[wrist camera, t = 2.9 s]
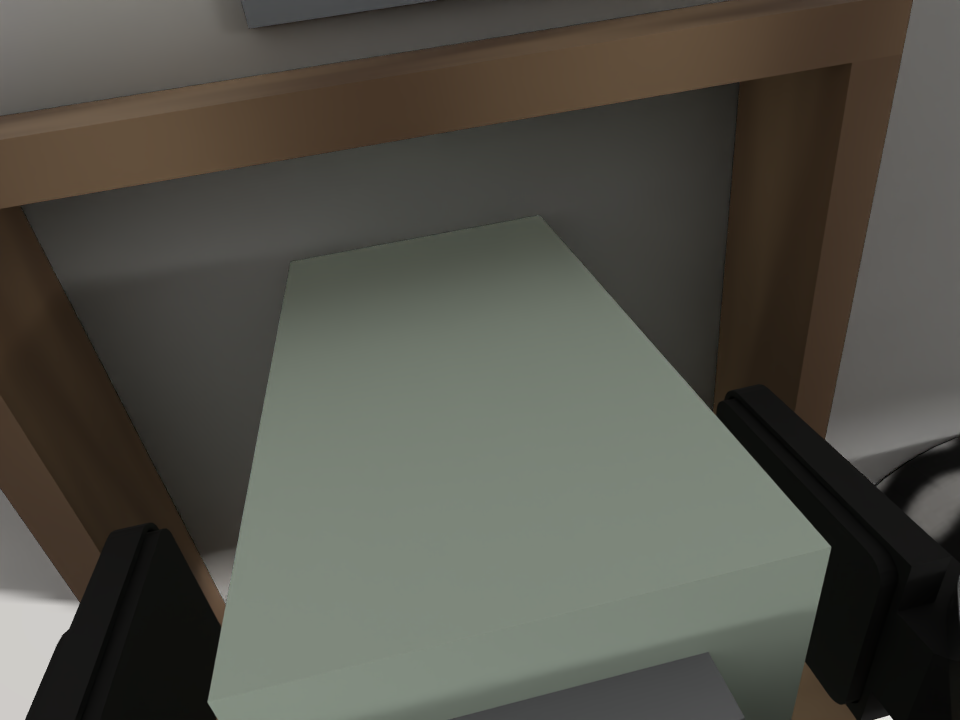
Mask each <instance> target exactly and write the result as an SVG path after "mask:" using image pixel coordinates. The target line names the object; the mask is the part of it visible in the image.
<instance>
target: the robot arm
mask: <svg viewBox="0 0 960 720" xmlns="http://www.w3.org/2000/svg"><path fill="white" fill-rule="evenodd" d="M716 416H717V417H718V419H719V420H720V421H721V422H722V423H723V424H724V425H725V427H726V428H727V429H728V430H729V431H730V432H731V433H732V434H733V436H734V437H735V438H736V439H737V440H738V441H739V442H740V444H741V445H742V446H743V447H744V448H745V449H746V450H747V452H748V453H749V454H750V455H751V456H752V457H753V458H754V459H755V461H756V462H757V463H758V464H759V465H760V466H761V467H762V469H763V470H764V471H765V472H766V473H767V474H768V475H769V477H770V478H771V479H772V480H773V481H774V482H775V483H776V484H777V486H778V487H779V488H780V489H781V490H782V491H783V492H784V494H785V495H786V496H787V497H788V498H789V499H790V500H791V502H792V503H793V504H794V505H795V506H796V507H797V508H798V510H799V511H800V512H801V513H802V514H803V515H804V516H805V517H806V519H807V520H808V521H809V522H810V523H811V524H812V525H813V527H814V528H815V529H816V530H817V531H818V532H819V533H820V535H821V536H822V537H823V538H824V539H825V540H826V541H827V542H828V544H829V545H830V546H831V551H830V555H829V560H828V564H827V568H826V573H825V577H824V581H823V585H822V590H821V594H820V598H819V603H818V607H817V611H816V615H815V620H814V624H813V628H812V633H811V637H810V641H809V645H808V650H807V654H806V658H805V662H806V664H807V665H808V667H809V668H810V669H811V671H812V672H813V674H814V675H815V677H816V678H817V679H818V681H819V682H820V684H821V685H822V686H823V688H824V689H825V691H826V692H827V694H828V695H829V696H830V697H831V699H832V700H834V701H835V702H836V703H837V704H840V705H843V704H846V706H847V707H848V708H849V710H850V711H851V713H852V714H853V715H854V717H855V718H856V720H875V719H878V718H881V717H885V716H888V715H890V716H891V717H892V719H893V720H960V563H959V562H958V561H957V560H956V559H955V558H954V557H953V556H951V555H950V554H949V553H948V552H947V551H946V550H945V549H944V548H943V547H942V546H941V545H939V544H938V543H937V542H936V541H935V540H934V539H933V538H932V537H931V536H930V535H928V534H927V533H926V532H925V531H924V530H923V529H922V528H921V527H920V526H919V525H918V524H916V523H915V522H914V521H913V520H912V519H911V518H910V517H909V516H908V515H907V514H905V513H904V512H903V511H902V510H901V509H900V508H899V507H898V506H897V505H896V504H895V503H893V502H892V501H891V500H890V499H889V498H888V497H887V496H886V495H885V494H884V493H882V492H881V491H880V490H879V489H878V488H877V487H876V486H875V485H874V484H873V483H872V482H870V481H869V480H868V479H867V478H866V477H865V476H864V475H863V474H862V473H861V472H859V471H858V470H857V469H856V468H855V467H854V466H853V465H852V464H851V463H850V462H849V461H847V460H846V459H845V458H844V457H843V456H842V455H841V454H840V453H839V452H837V451H836V450H835V449H834V448H833V447H832V446H831V445H830V444H829V443H828V442H827V441H825V440H824V439H823V438H822V437H821V436H820V435H819V434H818V433H817V432H816V431H814V430H813V429H812V428H811V427H810V426H809V425H808V424H807V423H806V422H805V421H804V420H802V419H801V418H800V417H799V416H798V415H797V414H796V413H795V412H794V411H793V410H791V409H790V408H789V407H788V406H787V405H786V404H785V403H784V402H783V401H782V400H781V399H779V398H778V397H777V396H776V395H775V394H774V393H773V392H772V391H771V390H770V389H769V388H767V387H766V386H764V385H762V384H757V385H753V386H748V387H744V388H739V389H735V390H731V391H729V392H727V394H726V395H725V399H724V401H721V402H719V403H718V405H717V410H716ZM221 628H222V627H221V625H220V623H219V621H218V620H217V618H216V616H215V614H214V612H213V610H212V608H211V606H210V605H209V603H208V601H207V599H206V597H205V595H204V593H203V591H202V590H201V588H200V586H199V584H198V582H197V580H196V578H195V576H194V574H193V573H192V571H191V569H190V567H189V565H188V563H187V561H186V559H185V558H184V556H183V554H182V552H181V550H180V548H179V546H178V544H177V543H176V541H175V539H174V537H173V535H172V533H171V532H170V531H169V530H168V529H167V528H164V529H159V528H158V527H157V525H155V524H154V523H144V524H140V525H136V526H131V527H127V528H122V529H118V530H114V531H113V532H111V533H110V534H109V536H108V538H107V540H106V542H105V545H104V547H103V549H102V552H101V554H100V557H99V559H98V561H97V564H96V566H95V569H94V571H93V573H92V576H91V578H90V581H89V583H88V585H87V588H86V590H85V593H84V595H83V597H82V600H81V602H80V604H79V607H78V609H77V612H76V614H75V616H74V619H73V621H72V624H71V626H70V629H69V630H68V631H67V632H65V633H64V634H63V635H62V637H61V639H60V641H59V642H58V644H57V646H56V648H55V651H54V653H53V655H52V658H51V660H50V662H49V665H48V667H47V670H46V672H45V674H44V676H43V679H42V681H41V684H40V686H39V688H38V691H37V693H36V695H35V698H34V700H33V702H32V705H31V707H30V710H29V712H28V714H27V716H26V719H25V720H216V718H217V717H216V715H215V714H214V712H213V711H212V709H211V707H210V706H209V704H208V697H209V692H210V686H211V681H212V676H213V670H214V665H215V660H216V655H217V649H218V644H219V639H220V633H221Z"/></svg>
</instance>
